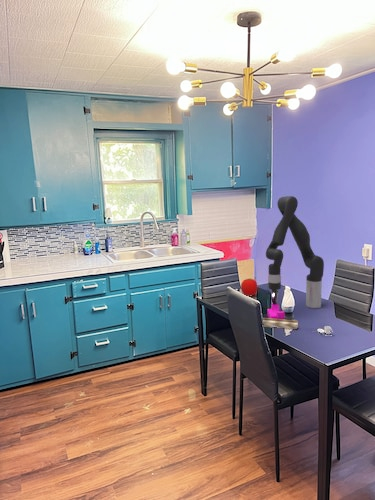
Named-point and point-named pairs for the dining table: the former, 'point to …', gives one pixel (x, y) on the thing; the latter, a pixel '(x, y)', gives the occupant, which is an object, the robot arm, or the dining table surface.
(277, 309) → the toy block
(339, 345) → the dining table surface
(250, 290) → the tomato
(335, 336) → the dining table surface
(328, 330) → the teacup and saucer
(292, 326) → the plank
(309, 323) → the dining table surface
